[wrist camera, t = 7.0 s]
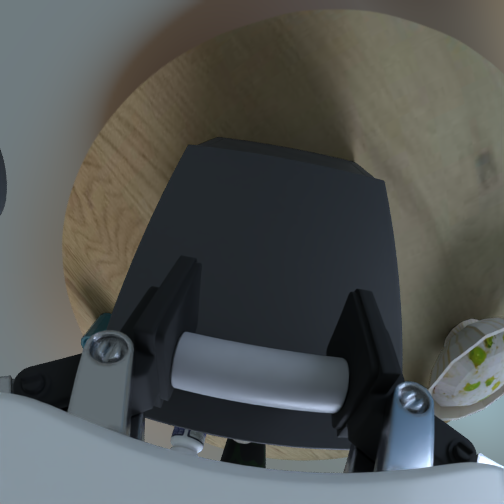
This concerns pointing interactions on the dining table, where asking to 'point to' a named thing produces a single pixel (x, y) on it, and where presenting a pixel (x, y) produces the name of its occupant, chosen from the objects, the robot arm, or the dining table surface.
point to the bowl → (469, 369)
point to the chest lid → (265, 291)
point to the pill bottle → (187, 441)
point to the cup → (244, 454)
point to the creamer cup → (96, 327)
